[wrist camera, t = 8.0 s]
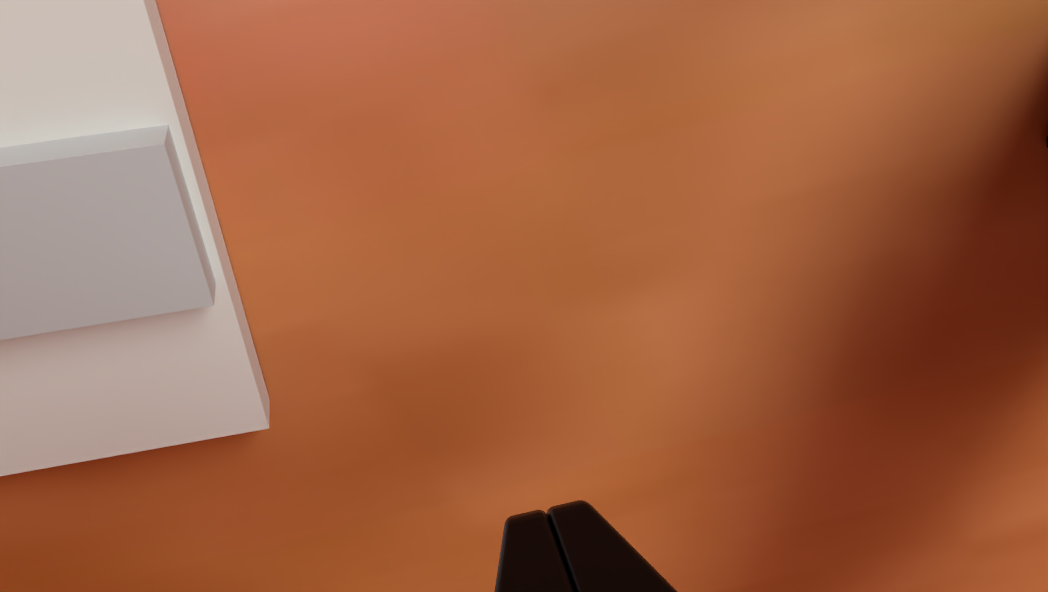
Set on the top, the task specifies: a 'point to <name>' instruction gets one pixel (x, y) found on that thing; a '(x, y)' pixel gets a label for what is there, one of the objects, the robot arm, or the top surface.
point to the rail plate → (109, 247)
